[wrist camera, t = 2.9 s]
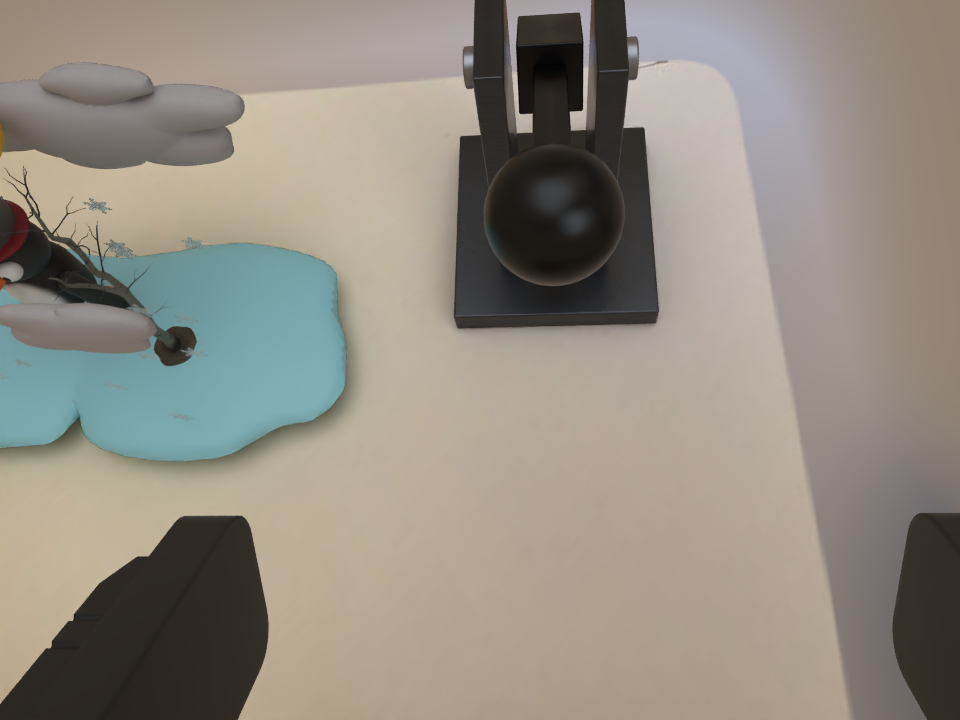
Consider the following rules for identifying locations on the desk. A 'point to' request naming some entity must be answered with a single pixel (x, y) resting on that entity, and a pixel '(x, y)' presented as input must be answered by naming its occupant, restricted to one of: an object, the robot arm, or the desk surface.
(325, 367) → the penguin figurine
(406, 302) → the desk surface
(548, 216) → the lever
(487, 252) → the switch bracket
